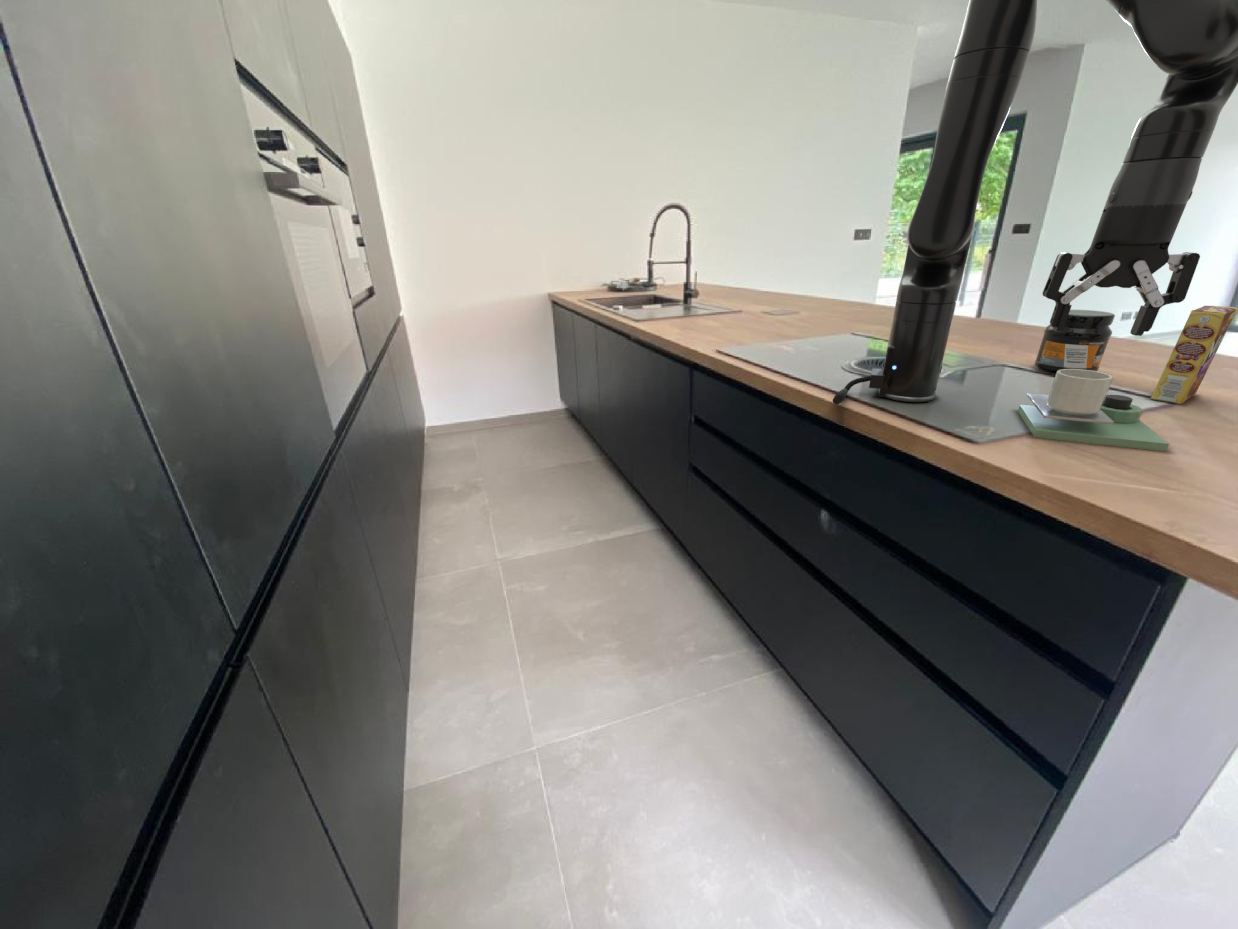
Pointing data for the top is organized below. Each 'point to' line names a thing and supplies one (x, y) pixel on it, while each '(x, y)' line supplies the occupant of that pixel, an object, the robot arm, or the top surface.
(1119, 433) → the scale
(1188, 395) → the candy box
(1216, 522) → the top surface
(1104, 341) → the supplement container
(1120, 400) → the tare button
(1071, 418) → the scale pan
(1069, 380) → the white cup
